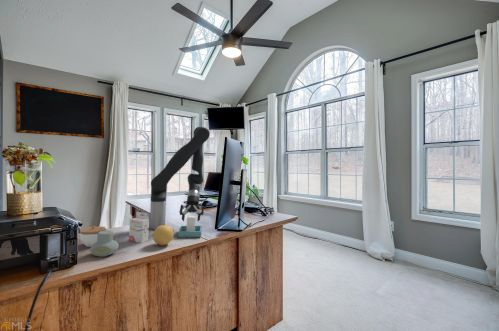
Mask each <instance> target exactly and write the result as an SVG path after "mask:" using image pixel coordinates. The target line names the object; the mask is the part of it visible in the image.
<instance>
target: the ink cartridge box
mask: <svg viewBox="0 0 499 331" xmlns="http://www.w3.org/2000/svg"><path fill="white" fill-rule="evenodd" d="M135 212H136V213H135V214H136V215H135V217H133V218H130V219H129V232H128V233H129V236H128V242H135V243H140V244H143V243H145V242H147V241H148V240H149V214H150V213H148V212H140V211H135Z"/></svg>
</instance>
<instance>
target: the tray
mask: <svg viewBox="0 0 499 331" xmlns="http://www.w3.org/2000/svg"><path fill="white" fill-rule="evenodd" d="M186 228H187V225H181V226H180V228H179V230H177V239H185V238H184V237H202V231H203V225H195V231H186Z"/></svg>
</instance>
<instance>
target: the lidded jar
mask: <svg viewBox="0 0 499 331" xmlns="http://www.w3.org/2000/svg"><path fill="white" fill-rule="evenodd" d="M106 230H107V229H106V226H101V225H99V226H95V225H92V226H88V227H84V228H81V229H80V230H79V238H80V242H81V244H83V245H84V246H85V247H87V248H89V247H90V248H91V246H92V245H93V244H94V243H96V242H97V237H98V233H99V232H101V231H106Z"/></svg>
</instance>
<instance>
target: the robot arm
mask: <svg viewBox="0 0 499 331" xmlns="http://www.w3.org/2000/svg"><path fill="white" fill-rule="evenodd" d="M210 135H211V132H210V130H209V129H208V128H207V127H204V126H197V127H195V128H194V130H193V137H192V138H191V139H190V140H189V141H188V142H187V143H186V144H184V145H182V146H181V147H180V148H179V149H178V150H177V151H176V152H175V153H174V154H173V155H172V157H170V159H169V160H168V162H167V164H166V165H165V166H164V168H162V170H161V171H160V172H158V174H156V176H155V177H153V178H152V180H151V181H150V186H151V193H150V194H151V195H150V209H149V210H150V211H149V212H150V213H148V214H149V228H148V230H155V229H156V228H157V227H159V226H161V225H166V211H167V210H166V209H167V190H168V189H167V188H168V184H169V182H170V180H171V179H172V178H173V177H174V176H175V175H176V174H177V173H178V172H179V171H180V170H181V169H182V168H183V167H184V166H185V165H186V164H187V163H188V162H189V160H190V159H191V158H192V162H191V170H193V171H194V172H197V173H198V174H197V173H190V174H188V176H187V183H188V193H187V196H186V204H185V205H184V204H180V207H179V211H178V213H179V215H180V216H181V220H182V222H185V218H186V215H187V214H188V213H190V214H191V213H195V214H196V215H197V222H200V220H201V217H202V216H204V209H205V208H204V204H202V205H200V204H199V203H200V190H201V189H200V188H201V187H200V185H202V184H203V183H204V176H203V164H204V151H203V148H204V147H203V145H204V144H205V142H207V141H208V140H209V139H210ZM183 210H184V211H183ZM200 210H201V211H200Z"/></svg>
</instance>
